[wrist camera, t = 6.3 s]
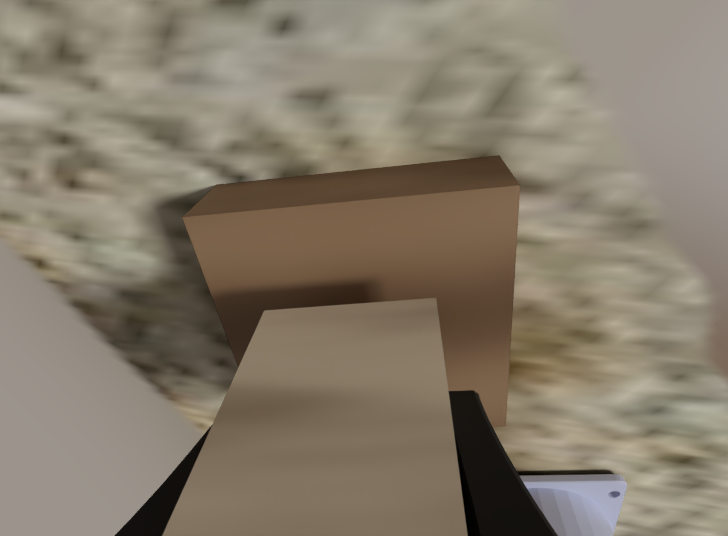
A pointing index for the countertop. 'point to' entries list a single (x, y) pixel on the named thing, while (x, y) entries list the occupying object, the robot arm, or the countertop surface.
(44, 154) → the countertop surface
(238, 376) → the ash block
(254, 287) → the walnut block
